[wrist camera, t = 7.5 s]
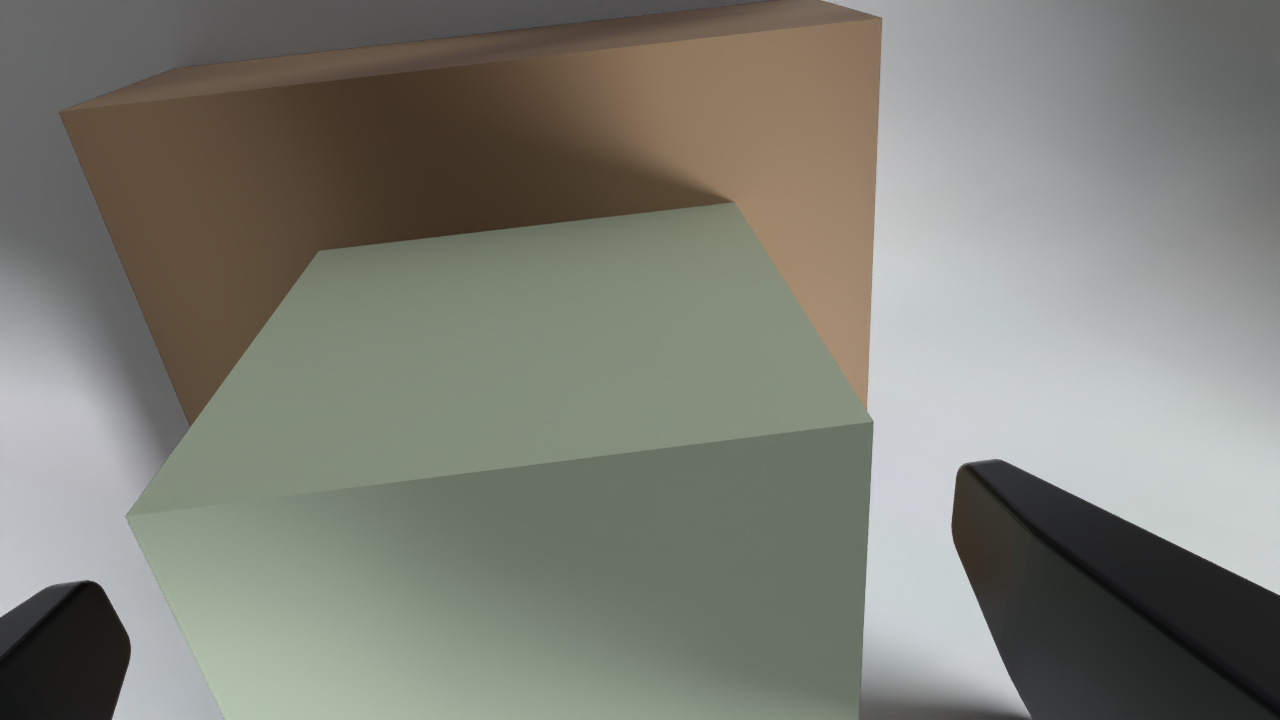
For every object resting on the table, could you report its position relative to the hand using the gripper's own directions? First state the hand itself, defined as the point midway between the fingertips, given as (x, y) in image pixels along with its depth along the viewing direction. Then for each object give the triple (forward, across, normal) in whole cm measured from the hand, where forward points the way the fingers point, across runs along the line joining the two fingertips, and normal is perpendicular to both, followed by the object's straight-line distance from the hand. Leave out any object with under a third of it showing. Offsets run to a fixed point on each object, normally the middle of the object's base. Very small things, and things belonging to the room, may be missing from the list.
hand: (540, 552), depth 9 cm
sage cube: (+3, 0, 0) cm, 3 cm away
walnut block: (+6, 0, 0) cm, 6 cm away
